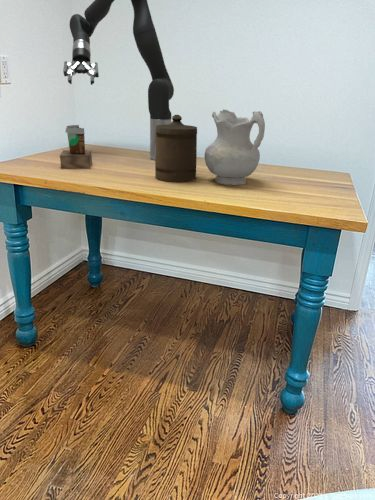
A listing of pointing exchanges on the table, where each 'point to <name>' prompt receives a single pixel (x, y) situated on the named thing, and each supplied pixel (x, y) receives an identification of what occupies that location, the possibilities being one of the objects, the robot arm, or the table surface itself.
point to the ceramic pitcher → (234, 148)
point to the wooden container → (176, 151)
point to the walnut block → (76, 160)
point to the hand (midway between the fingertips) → (81, 82)
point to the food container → (76, 139)
